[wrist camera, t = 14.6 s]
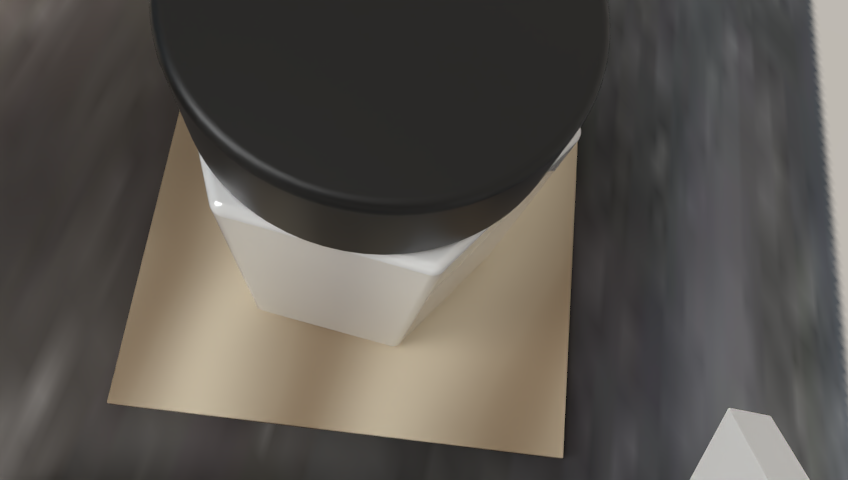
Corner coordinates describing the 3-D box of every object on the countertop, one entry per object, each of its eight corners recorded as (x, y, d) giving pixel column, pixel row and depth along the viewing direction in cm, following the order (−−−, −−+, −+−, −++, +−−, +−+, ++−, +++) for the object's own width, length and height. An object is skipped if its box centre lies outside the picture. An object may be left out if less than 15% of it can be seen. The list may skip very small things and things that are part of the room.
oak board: (112, 404, 21) (106, 402, 21) (208, 17, 26) (205, 7, 25) (556, 458, 22) (562, 457, 22) (575, 80, 27) (581, 71, 26)
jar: (513, 149, 25) (666, -111, 14) (460, 371, 22) (596, 278, 11) (270, 78, 25) (219, -251, 13) (188, 295, 22) (36, 118, 11)
